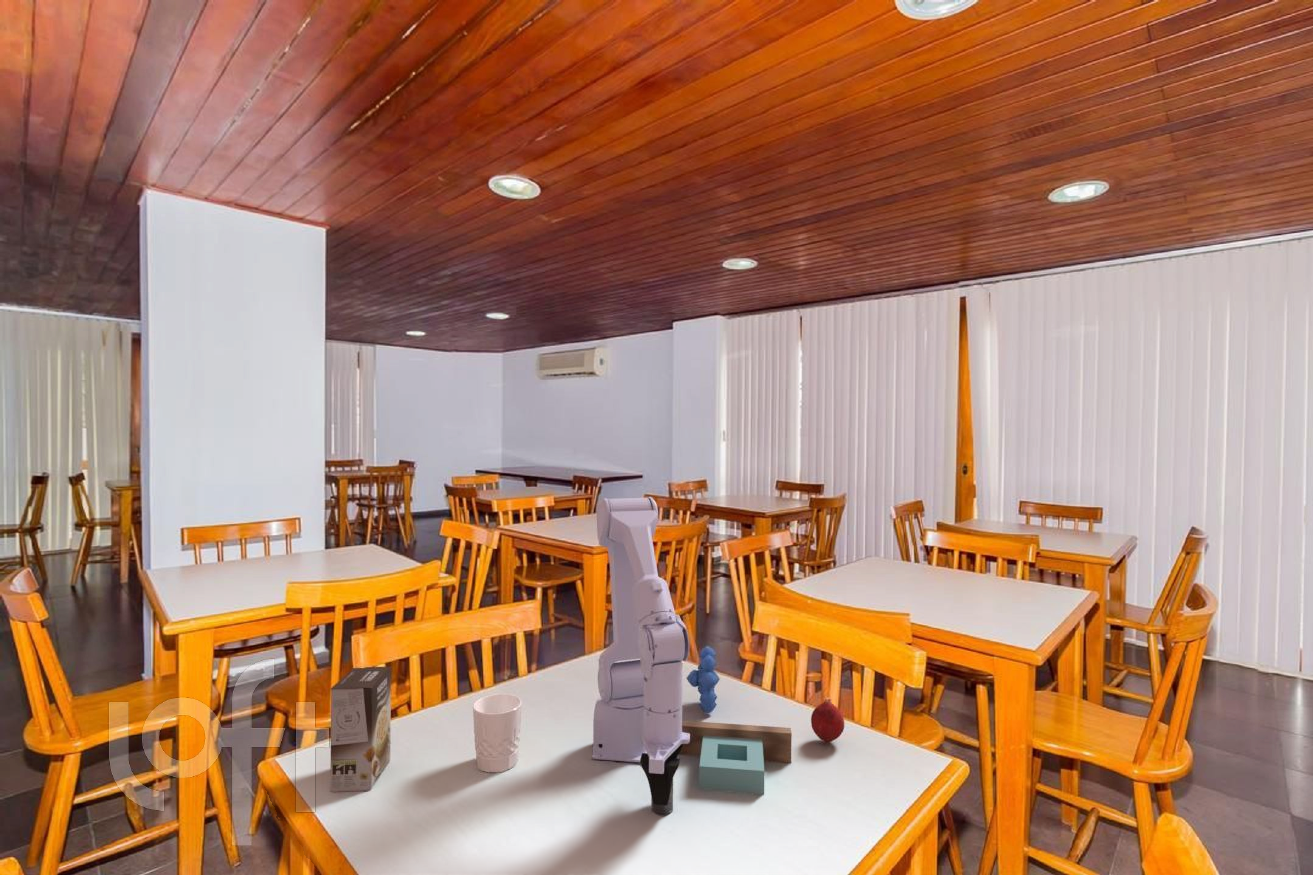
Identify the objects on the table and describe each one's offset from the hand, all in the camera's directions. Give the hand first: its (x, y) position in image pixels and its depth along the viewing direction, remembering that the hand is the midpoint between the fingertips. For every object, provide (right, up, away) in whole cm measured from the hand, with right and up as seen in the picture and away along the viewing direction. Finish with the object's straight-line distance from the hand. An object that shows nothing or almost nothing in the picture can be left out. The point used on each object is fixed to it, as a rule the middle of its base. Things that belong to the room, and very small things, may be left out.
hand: (662, 795), depth 94 cm
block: (+12, -2, +10) cm, 15 cm away
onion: (+30, -2, +20) cm, 36 cm away
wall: (+12, -2, +16) cm, 20 cm away
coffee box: (-48, -2, +8) cm, 49 cm away
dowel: (0, -2, 0) cm, 2 cm away
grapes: (+9, -2, +34) cm, 35 cm away
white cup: (-28, -2, +13) cm, 30 cm away
